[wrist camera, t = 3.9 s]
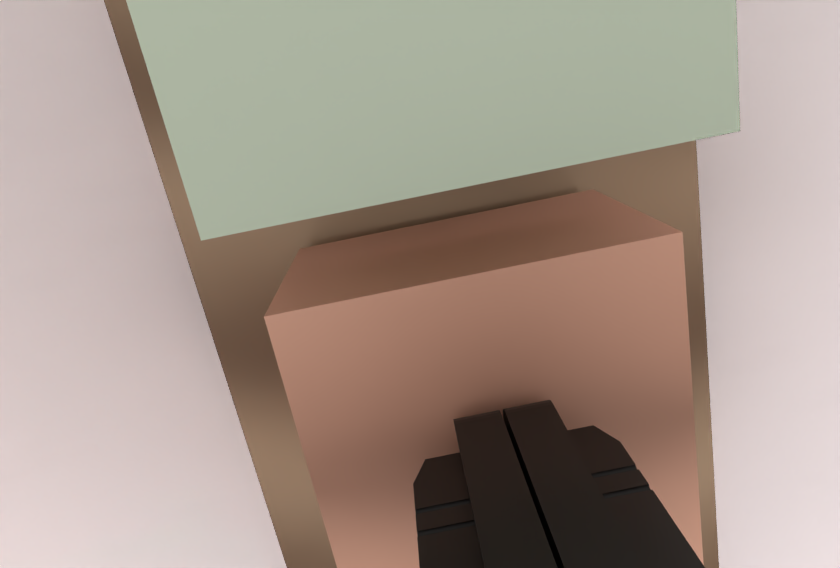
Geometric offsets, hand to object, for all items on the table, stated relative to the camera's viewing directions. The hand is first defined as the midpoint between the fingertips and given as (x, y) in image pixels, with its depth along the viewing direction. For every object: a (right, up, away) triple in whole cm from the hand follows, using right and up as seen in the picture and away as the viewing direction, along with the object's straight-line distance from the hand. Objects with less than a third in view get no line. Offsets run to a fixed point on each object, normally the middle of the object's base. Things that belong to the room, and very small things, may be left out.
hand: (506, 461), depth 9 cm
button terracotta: (0, +1, +4) cm, 4 cm away
